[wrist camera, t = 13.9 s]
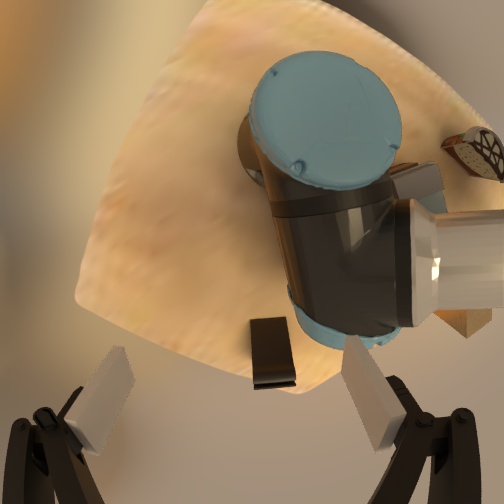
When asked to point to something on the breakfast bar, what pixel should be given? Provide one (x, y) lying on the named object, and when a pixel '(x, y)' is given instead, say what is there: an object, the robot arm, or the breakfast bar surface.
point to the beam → (421, 186)
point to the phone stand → (271, 354)
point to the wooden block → (465, 319)
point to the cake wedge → (477, 153)
